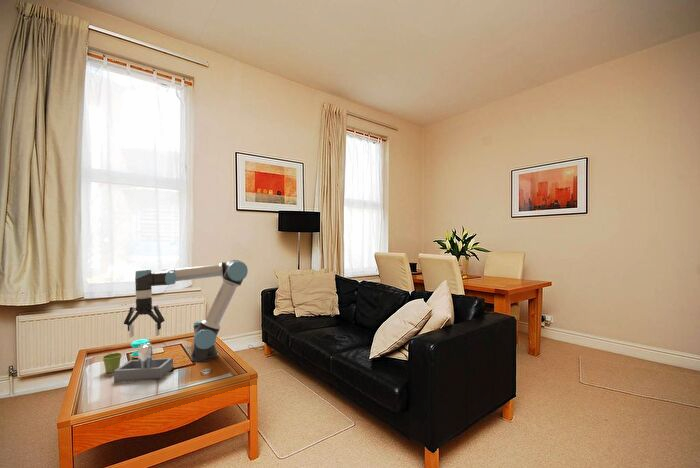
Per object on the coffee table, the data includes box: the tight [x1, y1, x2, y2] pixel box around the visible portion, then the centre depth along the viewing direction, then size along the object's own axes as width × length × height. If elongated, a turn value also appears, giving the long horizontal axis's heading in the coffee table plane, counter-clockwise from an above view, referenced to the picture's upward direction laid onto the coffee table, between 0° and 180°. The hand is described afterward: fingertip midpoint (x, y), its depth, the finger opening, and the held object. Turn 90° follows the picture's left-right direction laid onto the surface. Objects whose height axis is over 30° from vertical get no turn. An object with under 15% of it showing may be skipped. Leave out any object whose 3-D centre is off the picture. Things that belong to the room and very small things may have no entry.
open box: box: [113, 357, 174, 383], centre depth 181 cm, size 23×15×6 cm, turn 96°
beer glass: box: [137, 343, 154, 368], centre depth 181 cm, size 7×7×15 cm
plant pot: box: [101, 352, 123, 374], centre depth 188 cm, size 9×9×9 cm
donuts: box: [130, 338, 151, 357], centre depth 211 cm, size 10×10×10 cm
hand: (144, 336), depth 182 cm, fingers open, 13 cm apart
